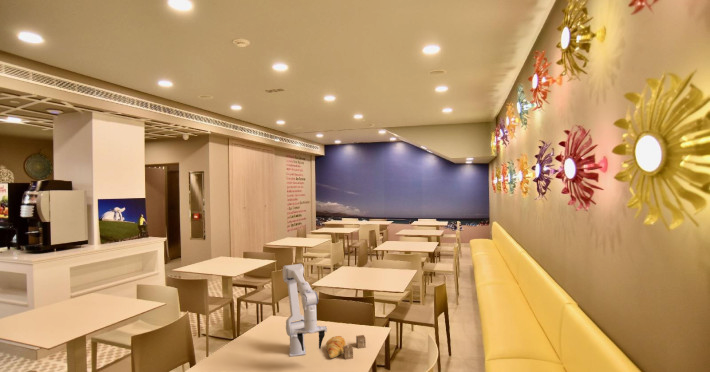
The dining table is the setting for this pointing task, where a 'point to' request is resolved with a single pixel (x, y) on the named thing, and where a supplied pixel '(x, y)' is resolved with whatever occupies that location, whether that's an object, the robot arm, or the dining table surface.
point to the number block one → (348, 352)
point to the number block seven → (360, 341)
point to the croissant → (335, 346)
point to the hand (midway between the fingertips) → (311, 348)
